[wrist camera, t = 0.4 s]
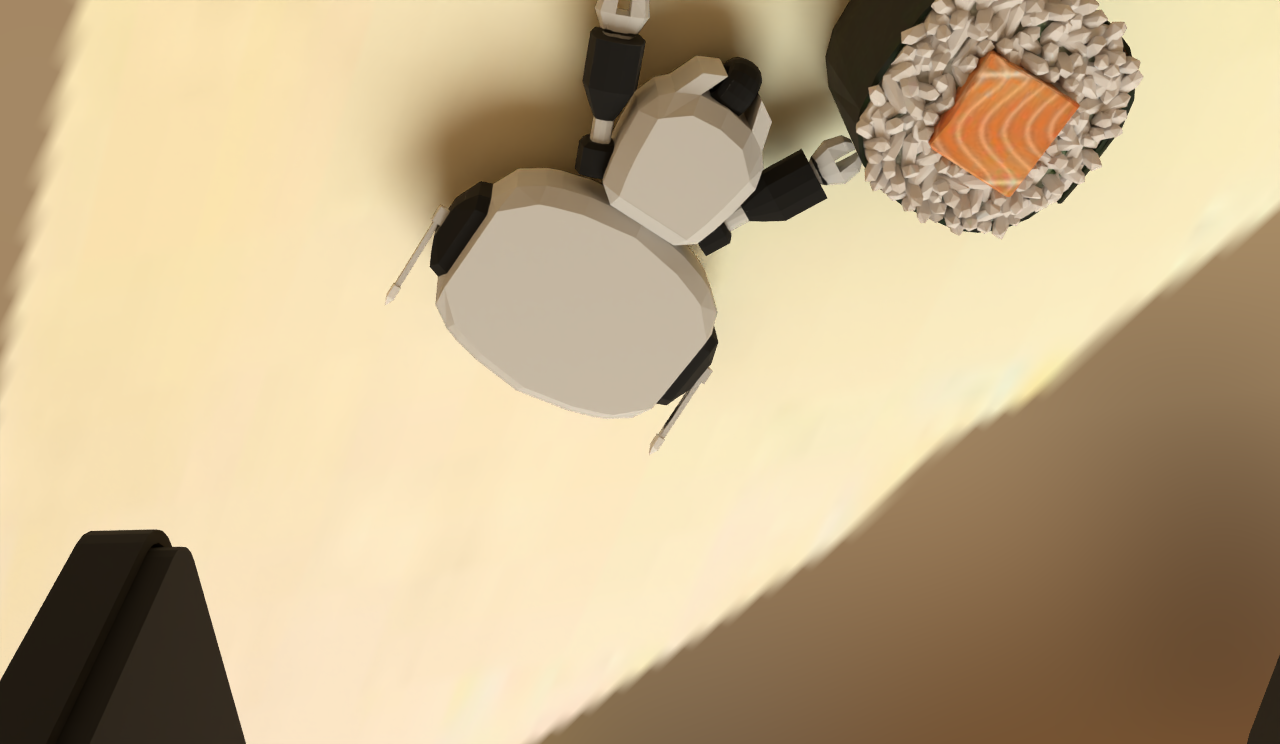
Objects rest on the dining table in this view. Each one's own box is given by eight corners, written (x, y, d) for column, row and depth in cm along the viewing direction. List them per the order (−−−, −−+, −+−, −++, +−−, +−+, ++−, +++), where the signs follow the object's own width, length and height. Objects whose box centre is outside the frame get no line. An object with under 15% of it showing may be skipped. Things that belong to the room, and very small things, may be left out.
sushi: (1107, -10, 43) (1200, 65, 36) (964, 184, 46) (1023, 285, 40) (919, -126, 40) (981, -69, 34) (785, 88, 44) (816, 177, 38)
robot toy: (603, -59, 42) (386, 268, 48) (608, -33, 38) (371, 321, 44) (868, 133, 46) (640, 415, 52) (897, 175, 42) (647, 474, 48)
